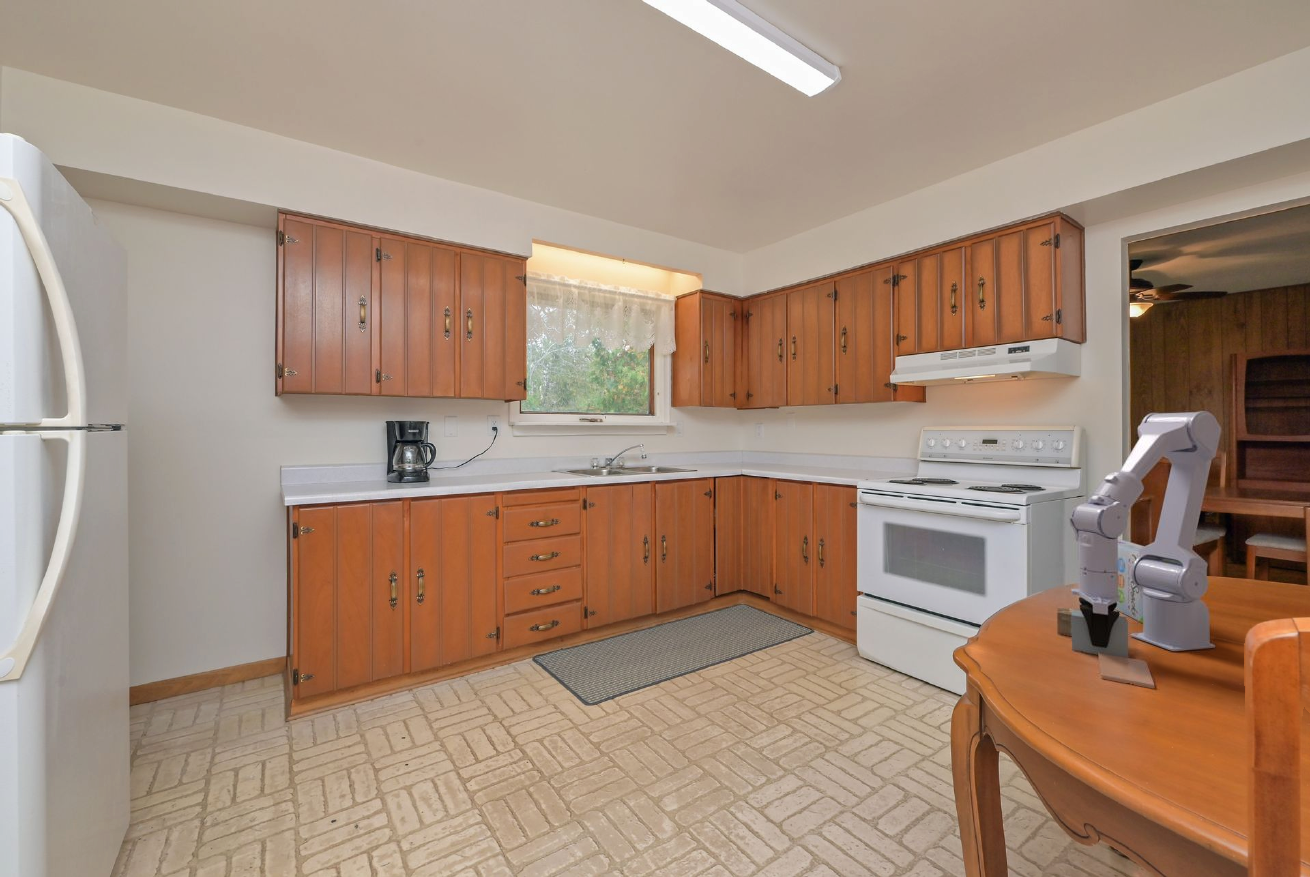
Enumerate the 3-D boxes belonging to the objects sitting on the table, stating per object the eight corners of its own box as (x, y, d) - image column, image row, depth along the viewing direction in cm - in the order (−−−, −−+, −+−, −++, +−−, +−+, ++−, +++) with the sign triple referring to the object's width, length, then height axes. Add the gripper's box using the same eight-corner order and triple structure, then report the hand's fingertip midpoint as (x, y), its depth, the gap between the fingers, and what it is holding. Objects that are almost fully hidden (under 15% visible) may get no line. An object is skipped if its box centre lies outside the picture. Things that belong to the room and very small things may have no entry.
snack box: (1189, 634, 110) (1189, 558, 110) (1157, 632, 112) (1156, 557, 111) (1123, 601, 131) (1122, 538, 131) (1096, 600, 132) (1095, 537, 132)
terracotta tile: (1098, 656, 100) (1098, 652, 100) (1145, 664, 97) (1145, 660, 97) (1101, 678, 92) (1101, 674, 92) (1154, 688, 88) (1154, 684, 88)
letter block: (1057, 627, 115) (1057, 605, 115) (1085, 632, 112) (1084, 609, 112) (1057, 634, 111) (1057, 611, 111) (1085, 639, 109) (1085, 616, 109)
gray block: (1071, 643, 107) (1071, 609, 107) (1126, 652, 102) (1125, 617, 102) (1072, 649, 103) (1071, 615, 103) (1128, 659, 99) (1128, 623, 99)
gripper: (1070, 558, 111) (1071, 626, 111) (1071, 574, 99) (1072, 650, 99) (1116, 563, 107) (1116, 633, 107) (1123, 580, 95) (1123, 659, 95)
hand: (1098, 642), depth 103 cm, fingers closed on gray block, 4 cm apart
